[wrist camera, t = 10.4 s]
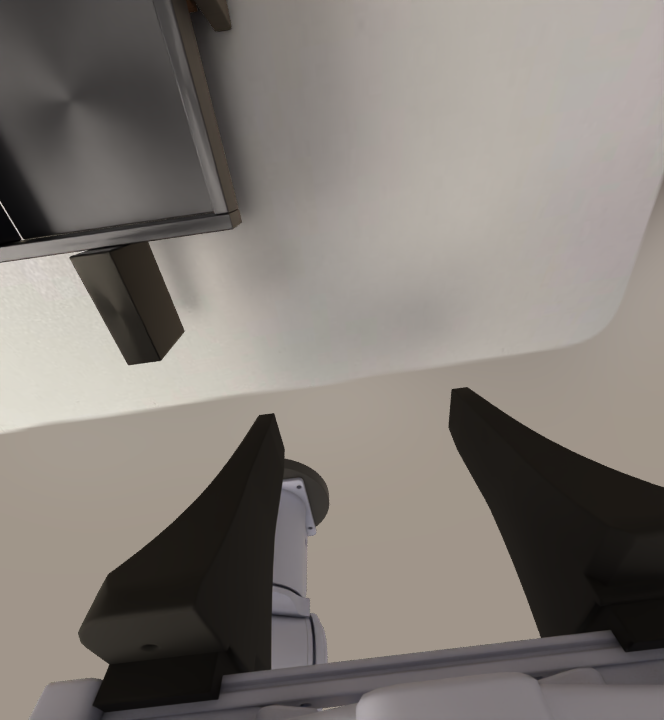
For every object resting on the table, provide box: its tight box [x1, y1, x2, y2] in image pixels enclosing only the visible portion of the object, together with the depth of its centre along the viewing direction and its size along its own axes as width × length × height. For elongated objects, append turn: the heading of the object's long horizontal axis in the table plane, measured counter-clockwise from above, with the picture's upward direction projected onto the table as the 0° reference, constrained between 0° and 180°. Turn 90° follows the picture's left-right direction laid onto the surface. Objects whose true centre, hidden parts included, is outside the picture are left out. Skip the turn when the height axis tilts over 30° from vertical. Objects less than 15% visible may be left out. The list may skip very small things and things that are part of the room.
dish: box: [0, 0, 242, 365], centre depth 12 cm, size 15×11×4 cm
